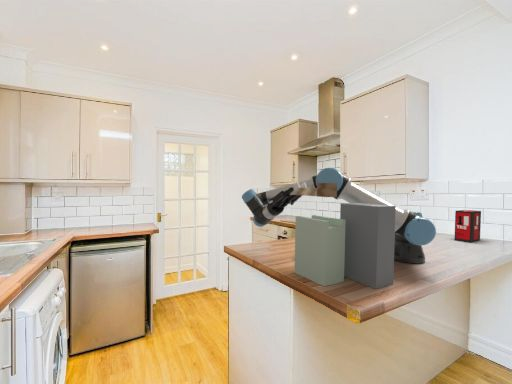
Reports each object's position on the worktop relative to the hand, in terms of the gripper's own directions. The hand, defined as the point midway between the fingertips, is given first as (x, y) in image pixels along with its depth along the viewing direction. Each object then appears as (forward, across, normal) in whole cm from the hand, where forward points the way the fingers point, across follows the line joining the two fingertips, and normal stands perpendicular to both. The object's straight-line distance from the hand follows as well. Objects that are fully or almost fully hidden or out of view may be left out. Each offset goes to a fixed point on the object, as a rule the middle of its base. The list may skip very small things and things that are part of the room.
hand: (302, 184), depth 106 cm
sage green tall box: (-9, 0, -36) cm, 37 cm away
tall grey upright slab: (0, -14, -40) cm, 43 cm away
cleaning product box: (-12, -141, -34) cm, 145 cm away
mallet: (+1, 0, -6) cm, 6 cm away
